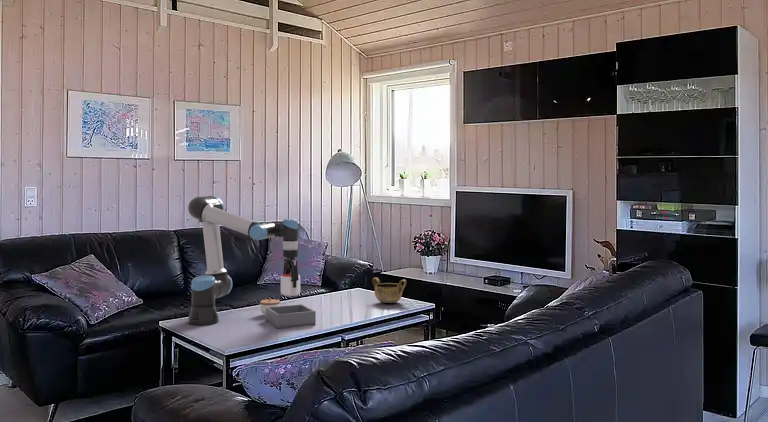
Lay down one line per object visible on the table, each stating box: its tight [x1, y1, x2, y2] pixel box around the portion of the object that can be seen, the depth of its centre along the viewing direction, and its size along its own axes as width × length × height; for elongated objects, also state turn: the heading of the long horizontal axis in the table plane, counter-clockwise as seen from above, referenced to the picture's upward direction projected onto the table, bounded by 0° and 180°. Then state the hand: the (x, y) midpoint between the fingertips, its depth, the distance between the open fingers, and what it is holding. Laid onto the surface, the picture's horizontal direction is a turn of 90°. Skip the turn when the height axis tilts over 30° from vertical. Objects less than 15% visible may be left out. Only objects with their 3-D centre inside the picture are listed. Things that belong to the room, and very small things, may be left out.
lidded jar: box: [259, 297, 281, 317], centre depth 355 cm, size 11×11×9 cm
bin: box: [265, 303, 317, 330], centre depth 338 cm, size 20×20×7 cm
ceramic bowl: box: [371, 277, 407, 304], centre depth 391 cm, size 22×17×15 cm
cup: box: [280, 273, 301, 297], centre depth 337 cm, size 10×10×10 cm
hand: (290, 292), depth 337 cm, fingers closed on cup, 10 cm apart
